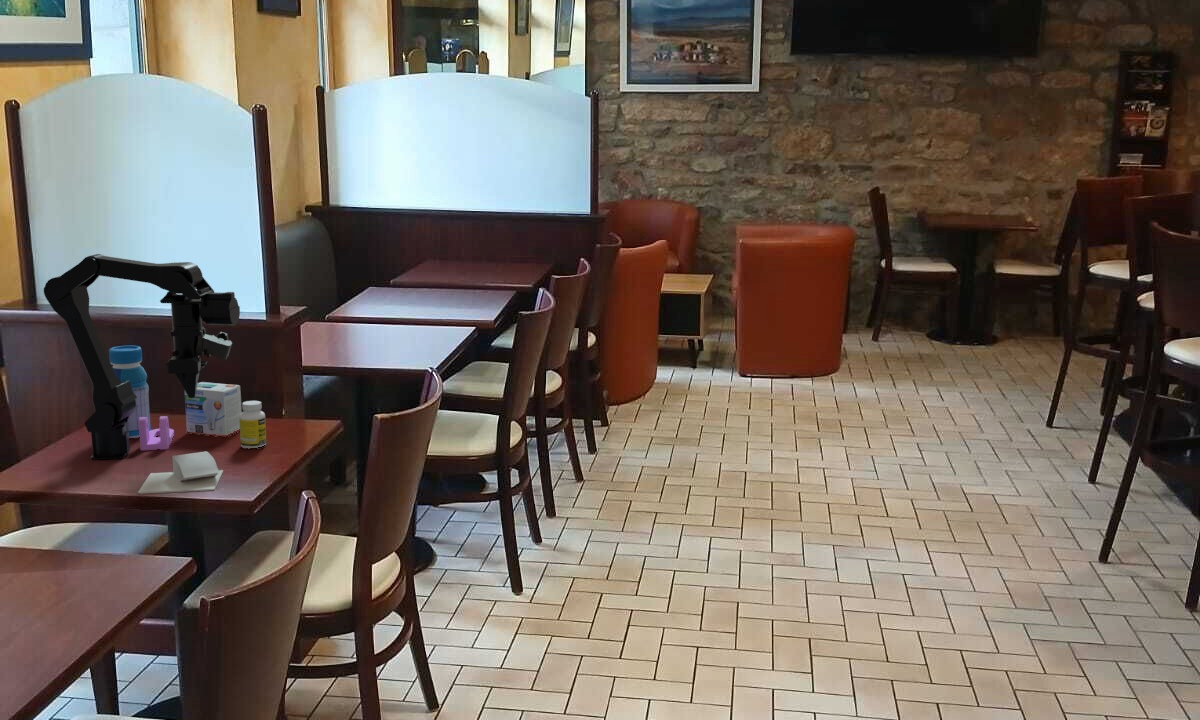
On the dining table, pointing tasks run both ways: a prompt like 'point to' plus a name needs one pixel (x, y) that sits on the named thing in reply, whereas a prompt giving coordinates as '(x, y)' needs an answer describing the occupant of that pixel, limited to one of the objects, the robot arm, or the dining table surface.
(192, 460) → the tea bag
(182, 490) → the mat
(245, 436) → the supplement bottle
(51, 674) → the dining table surface
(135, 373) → the beverage bottle
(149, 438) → the bracket
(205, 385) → the light bulb box
